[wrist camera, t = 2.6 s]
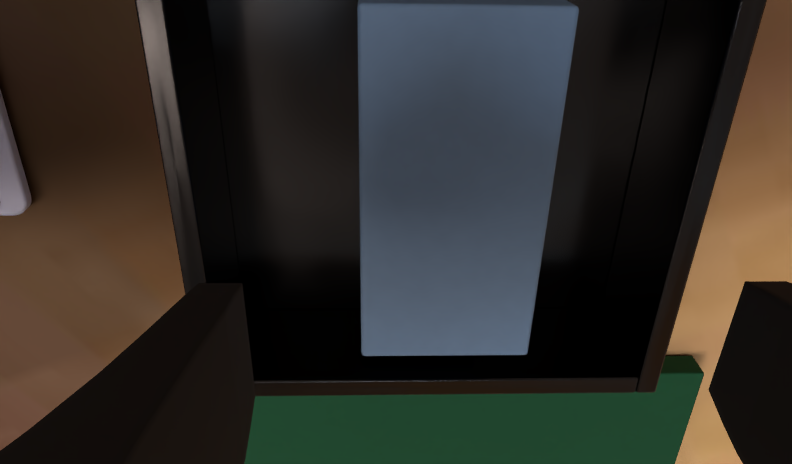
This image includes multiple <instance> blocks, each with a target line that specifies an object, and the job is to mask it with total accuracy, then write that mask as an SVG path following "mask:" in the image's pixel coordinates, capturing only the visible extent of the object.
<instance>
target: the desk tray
mask: <svg viewBox="0 0 792 464" xmlns="http://www.w3.org/2000/svg"><path fill="white" fill-rule="evenodd" d="M567 1H569V2H571V3H572V4H574V5H576V6H578V9H579V14H578V20H577V27H576V34H575V40H574V47H573V54H572V60H571V67H570V73H569V80H568V87H567V93H566V100H565V107H564V113H563V120H562V127H561V133H560V140H559V147H558V153H557V160H556V167H555V173H554V180H553V187H552V193H551V200H550V207H549V213H548V220H547V227H546V233H545V240H544V247H543V253H542V260H541V267H540V273H539V280H538V287H537V293H536V300H535V307H534V313H533V320H532V327H531V333H530V340H529V347H528V352H527V354H525V355H445V356H363V354H362V353H361V282H360V194H359V105H358V17H357V7H358V0H135V4H136V10H137V16H138V22H139V27H140V33H141V39H142V45H143V51H144V56H145V62H146V68H147V74H148V80H149V85H150V91H151V97H152V103H153V109H154V114H155V120H156V126H157V132H158V138H159V143H160V149H161V155H162V161H163V167H164V173H165V178H166V184H167V190H168V196H169V202H170V207H171V213H172V219H173V225H174V231H175V236H176V242H177V248H178V254H179V260H180V265H181V271H182V277H183V283H184V289H185V294H187V293H188V292H189V291H190V290H191V289H193V288H194V287H195V286H196V285H197V284H198V283H242V285H243V293H244V302H245V310H246V318H247V327H248V335H249V344H250V352H251V360H252V369H253V377H254V386H255V396H343V395H447V394H551V393H634V392H635V391H636V392H637V393H653V392H655V391H656V387H657V384H658V380H659V377H660V373H661V370H662V366H663V363H664V359H665V356H666V352H667V349H668V345H669V342H670V338H671V335H672V331H673V328H674V324H675V321H676V317H677V314H678V310H679V307H680V303H681V300H682V296H683V293H684V289H685V286H686V282H687V278H688V275H689V271H690V268H691V264H692V261H693V257H694V254H695V250H696V247H697V243H698V240H699V236H700V233H701V229H702V226H703V222H704V219H705V215H706V212H707V208H708V205H709V201H710V198H711V194H712V191H713V187H714V184H715V180H716V177H717V173H718V170H719V166H720V163H721V159H722V156H723V152H724V149H725V145H726V142H727V138H728V135H729V131H730V128H731V124H732V121H733V117H734V114H735V110H736V106H737V103H738V99H739V96H740V92H741V89H742V85H743V82H744V78H745V75H746V71H747V68H748V64H749V61H750V57H751V54H752V50H753V47H754V43H755V40H756V36H757V33H758V29H759V26H760V22H761V19H762V15H763V12H764V8H765V5H766V1H767V0H567Z"/></svg>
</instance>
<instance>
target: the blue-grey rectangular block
mask: <svg viewBox="0 0 792 464" xmlns="http://www.w3.org/2000/svg"><path fill="white" fill-rule="evenodd" d="M578 14H579V9H578V6H576V5H574V4H572V3H571V2H569V1H567V0H358V7H357V17H358V105H359V194H360V282H361V353H362V354H363V356H445V355H525V354H527V352H528V347H529V340H530V333H531V327H532V320H533V313H534V307H535V300H536V293H537V287H538V280H539V273H540V267H541V260H542V253H543V247H544V240H545V233H546V227H547V220H548V213H549V207H550V200H551V193H552V187H553V180H554V173H555V167H556V160H557V153H558V147H559V140H560V133H561V127H562V120H563V113H564V107H565V100H566V93H567V87H568V80H569V73H570V67H571V60H572V54H573V47H574V40H575V34H576V27H577V20H578Z"/></svg>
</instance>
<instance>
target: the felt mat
mask: <svg viewBox="0 0 792 464" xmlns="http://www.w3.org/2000/svg"><path fill="white" fill-rule="evenodd" d="M703 376H704V372H703V371H702V370H701V368H700V367H699V365H698V364H697V362H696V361H695V359H694V358H693V357H692V356H665V359H664V363H663V366H662V370H661V373H660V377H659V380H658V384H657V387H656V391H655V392H653V393H637V392H636V391H635V392H634V393H551V394H447V395H343V396H255V401H254V407H253V414H252V421H251V428H250V434H249V440H248V446H247V452H246V459H245V463H244V464H675V461H676V458H677V455H678V452H679V449H680V446H681V443H682V440H683V437H684V434H685V431H686V428H687V425H688V421H689V418H690V415H691V412H692V409H693V406H694V403H695V400H696V397H697V394H698V391H699V388H700V385H701V382H702V379H703Z"/></svg>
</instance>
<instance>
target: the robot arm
mask: <svg viewBox="0 0 792 464" xmlns="http://www.w3.org/2000/svg"><path fill="white" fill-rule="evenodd" d="M31 202H32V200H31V194H30V190H29V187H28V183H27V180H26V176H25V173H24V169H23V166H22V162H21V159H20V155H19V152H18V148H17V145H16V141H15V138H14V135H13V131H12V128H11V124H10V121H9V117H8V114H7V110H6V107H5V103H4V100H3V96H2V93H1V89H0V216H14V215H20V214H21V213H23V212H24V211H25V210H26V209H28V208H29V207H30V204H31ZM709 392H710V394H711V396H712V399H713V401H714V404H715V406H716V408H717V411H718V413H719V415H720V418H721V420H722V423H723V425H724V427H725V429H726V431H727V433H728V435H729V438H730V440H731V442H732V444H733V446H734V448H735V450H736V452H737V454H738V456H739V457H740V459H741V461H742V463H743V464H792V283H789V282H787V281H779V282H745V283H744V286H743V289H742V292H741V295H740V298H739V301H738V304H737V307H736V310H735V313H734V316H733V319H732V322H731V325H730V328H729V331H728V334H727V337H726V340H725V343H724V346H723V349H722V351H721V354H720V357H719V360H718V363H717V366H716V369H715V372H714V375H713V378H712V381H711V384H710V387H709ZM254 401H255V386H254V377H253V369H252V360H251V352H250V344H249V335H248V327H247V318H246V310H245V302H244V293H243V285H242V283H198V284H197V285H196V286H195V287H194V288H193V289H191V290H190V291H189V292H188V293H187V294H186V295H185V296H184V297H183V298H181V299H180V300H179V301H178V302H177V303H176V304H175V305H174V306H173V307H172V308H171V309H169V310H168V311H167V312H166V313H165V314H164V315H163V316H162V317H161V318H160V319H159V320H158V321H156V322H155V323H154V324H153V325H152V326H151V327H150V328H149V329H148V330H147V331H146V332H144V333H143V334H142V335H141V336H140V337H139V338H138V339H137V340H136V341H135V342H133V343H132V344H131V345H130V346H129V347H128V348H127V349H126V350H124V351H123V352H122V353H121V354H120V355H119V356H118V357H117V358H115V359H114V360H113V361H112V362H111V363H110V364H109V365H108V366H106V367H105V368H104V369H103V370H102V371H101V372H100V373H98V374H97V375H96V376H95V377H93V378H92V379H91V380H90V381H89V382H87V383H86V384H85V385H84V386H82V387H81V388H80V389H79V390H77V391H76V392H75V393H74V394H72V395H71V396H70V397H69V398H67V399H66V400H65V401H64V402H63V403H61V404H60V405H59V406H58V407H56V408H55V409H54V410H53V411H51V412H50V413H49V414H48V415H46V416H45V417H44V418H43V419H42V420H40V421H39V422H38V423H37V424H35V425H34V426H33V427H32V428H30V429H29V430H28V431H26V432H25V433H24V434H22V435H21V436H20V437H18V438H17V439H16V440H14V441H13V442H12V443H10V444H9V445H8V446H6V447H5V448H4V449H2V450H1V451H0V464H244V463H245V459H246V452H247V446H248V440H249V434H250V428H251V421H252V414H253V407H254Z"/></svg>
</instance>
